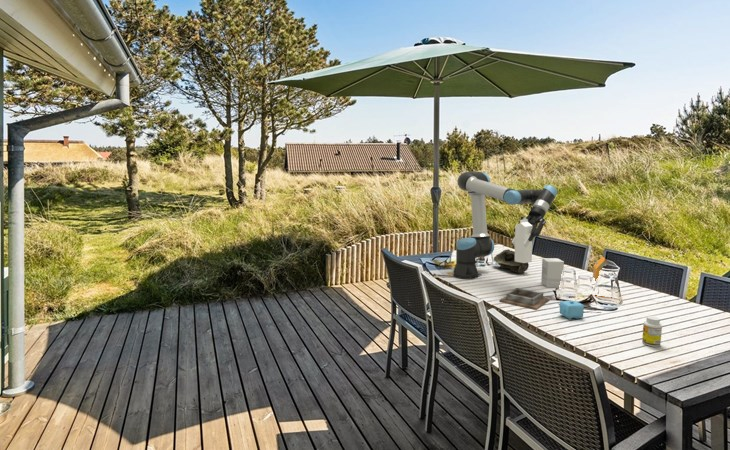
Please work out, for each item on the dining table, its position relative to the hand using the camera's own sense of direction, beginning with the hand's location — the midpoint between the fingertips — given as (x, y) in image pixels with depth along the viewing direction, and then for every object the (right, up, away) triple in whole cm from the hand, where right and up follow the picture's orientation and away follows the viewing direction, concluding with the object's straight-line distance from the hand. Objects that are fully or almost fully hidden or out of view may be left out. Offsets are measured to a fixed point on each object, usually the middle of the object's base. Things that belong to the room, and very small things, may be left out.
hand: (519, 244), depth 201 cm
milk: (+3, -9, +3) cm, 10 cm away
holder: (+1, -28, -4) cm, 28 cm away
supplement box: (+27, -25, +23) cm, 43 cm away
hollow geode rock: (+17, -20, +57) cm, 63 cm away
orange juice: (+45, -27, +6) cm, 53 cm away
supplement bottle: (+28, -35, -54) cm, 70 cm away
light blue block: (+12, -31, -26) cm, 42 cm away
